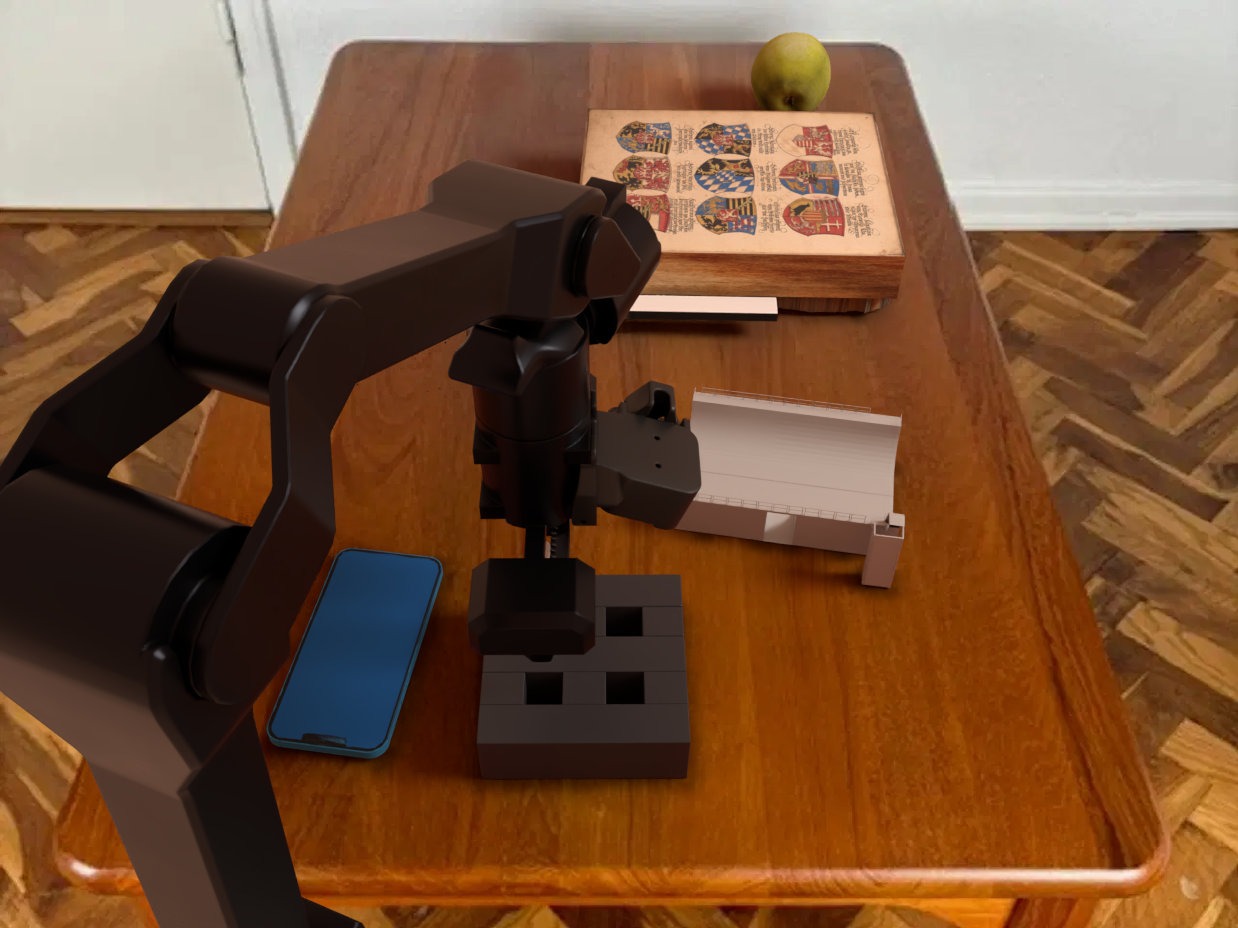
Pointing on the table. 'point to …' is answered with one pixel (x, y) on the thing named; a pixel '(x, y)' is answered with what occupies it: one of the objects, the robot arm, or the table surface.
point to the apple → (791, 73)
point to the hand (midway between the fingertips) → (544, 594)
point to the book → (754, 209)
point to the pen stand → (596, 695)
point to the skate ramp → (798, 477)
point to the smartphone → (357, 654)
